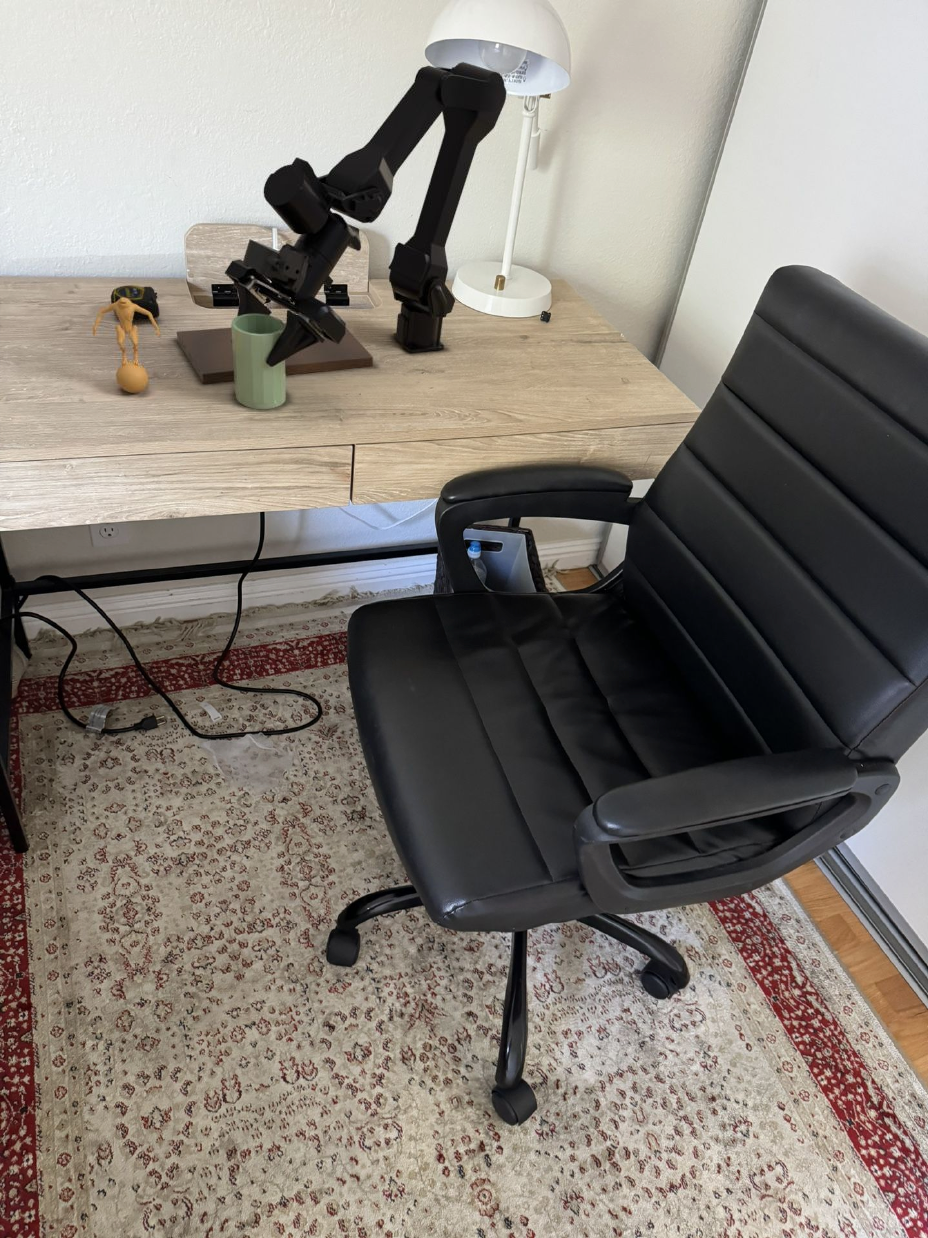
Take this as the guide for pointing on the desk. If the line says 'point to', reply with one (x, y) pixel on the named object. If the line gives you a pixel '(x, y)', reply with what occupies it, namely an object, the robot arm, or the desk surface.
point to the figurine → (128, 373)
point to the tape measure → (138, 299)
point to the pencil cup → (257, 361)
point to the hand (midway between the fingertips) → (251, 354)
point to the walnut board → (216, 364)
